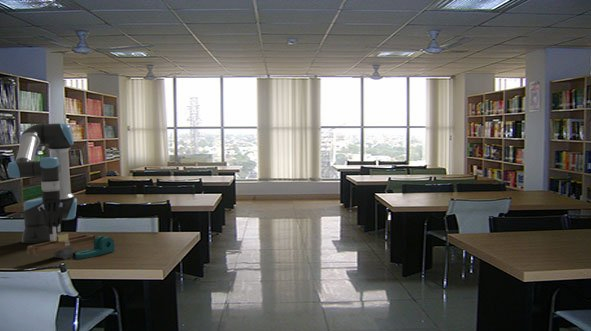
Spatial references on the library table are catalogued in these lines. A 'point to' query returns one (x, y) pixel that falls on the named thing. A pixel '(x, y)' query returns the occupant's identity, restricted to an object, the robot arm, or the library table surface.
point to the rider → (61, 238)
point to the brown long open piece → (61, 246)
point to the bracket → (97, 248)
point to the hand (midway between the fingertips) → (53, 240)
